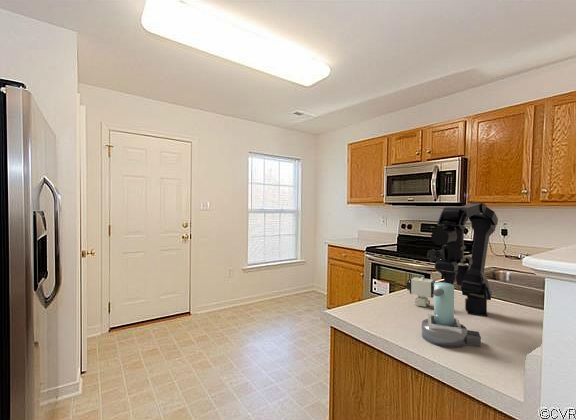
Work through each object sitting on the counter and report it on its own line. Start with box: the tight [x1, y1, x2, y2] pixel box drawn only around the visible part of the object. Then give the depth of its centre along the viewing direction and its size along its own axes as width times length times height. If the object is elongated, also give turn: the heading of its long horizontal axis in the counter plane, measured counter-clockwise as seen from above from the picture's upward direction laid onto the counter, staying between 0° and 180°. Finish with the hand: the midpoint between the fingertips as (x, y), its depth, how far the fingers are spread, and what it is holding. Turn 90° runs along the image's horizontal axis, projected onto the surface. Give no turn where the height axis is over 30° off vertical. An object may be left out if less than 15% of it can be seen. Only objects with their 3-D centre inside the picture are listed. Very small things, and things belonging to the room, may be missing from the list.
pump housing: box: [433, 281, 455, 327], centre depth 93 cm, size 8×6×13 cm
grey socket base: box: [421, 314, 482, 349], centre depth 94 cm, size 16×13×6 cm
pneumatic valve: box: [406, 276, 436, 308], centre depth 125 cm, size 6×12×12 cm, turn 51°
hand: (454, 287), depth 105 cm, fingers open, 9 cm apart
